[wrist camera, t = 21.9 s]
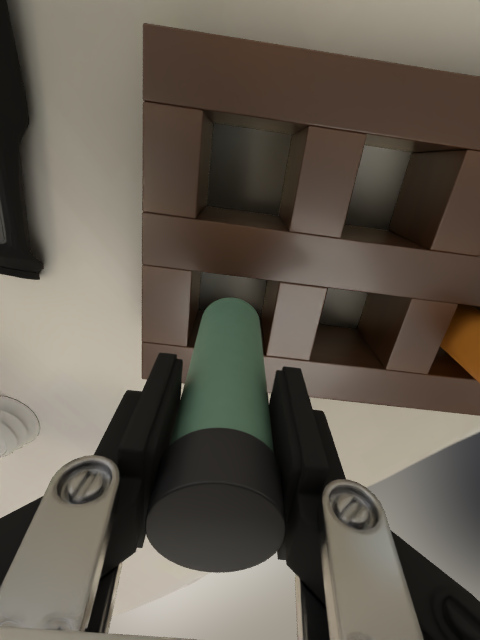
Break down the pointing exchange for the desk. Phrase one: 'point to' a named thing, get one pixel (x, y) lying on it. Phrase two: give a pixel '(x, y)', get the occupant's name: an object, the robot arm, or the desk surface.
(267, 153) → the desk surface
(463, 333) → the amber tube
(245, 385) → the sage tube
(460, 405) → the rack
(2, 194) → the electric trimmer
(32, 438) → the chalice
